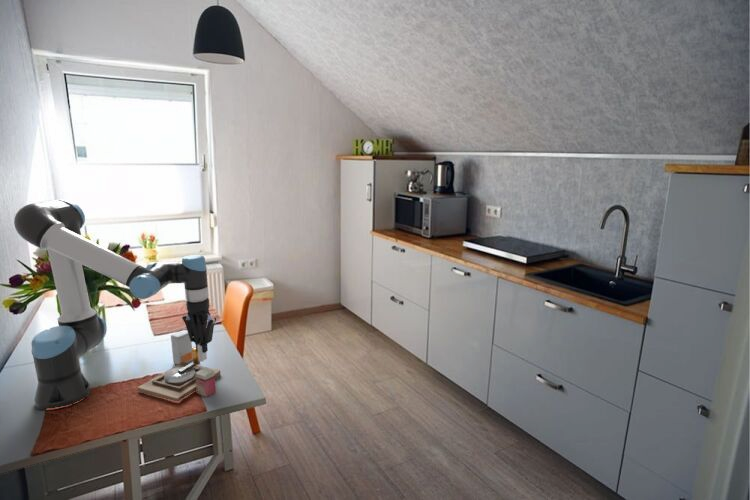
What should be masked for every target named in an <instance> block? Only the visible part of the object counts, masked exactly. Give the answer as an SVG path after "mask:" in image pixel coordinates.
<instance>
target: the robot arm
mask: <svg viewBox="0 0 750 500" xmlns="http://www.w3.org/2000/svg"><path fill="white" fill-rule="evenodd" d="M85 216H86V215H85V213H84V211H83V209H82V208H81V207H80V206H79V205H78V204H77V203H75V202H73V201H71V200H68V199H51V200H46V201H41V202H35V203H29V204H27V205H24V206H23V207H21V208H19V210H18V211H17V212H16V213H15V216H14V221H13V224H14V227H15V231H16V232H17V234H18V235H19V236H20V237H21V238H22V239H23V240H24V241H26V242H28V243H29V244H31V245H33V246H34V247H36V248H39V249H41V250H43V251H47V253H48V258H49V263H50V268H51V271H52V276H53V281H54V286H55V290H56V294H57V299H58V302H59V303H58V304H59V307H60V312H61V315H59V317H58V318H57V323H58V324H57V325H58V326H52V327H50V328H49V329H45V330H42V331H41V332H38V333H37V334H36V335H34V337H33V338H32V340H31V354H32V357H33V358H32V359H33V363H34V368H35V373H36V377H37V386H36V390H35V396H34V405H35V408H36V409H37V410H40V411H44V410H46V409H47V408H55V407H61V406H66V405H70V404H73V403H75V402H77V401H80V400H81V399H83V398H85V397H86V396H87V395H88V394H89V393H90V394H91V387H90V386H91V385H90V383H89V382H88V380H87V379H86V377H85V375H84V374H83V372H82V370H81V369H82V368H81V362H80V358H81V357H83V356H84V355H85V354H86V353H88V352H89V351H90V350H92V349H94V348H96V347H97V346H98V345H99V344H100V343H101V342H102V341H103V340H104V338H105V336H106V334H107V330H108V329H107V323H106V321H105V320H104V318H101V316H100V315H99V314H98V312H97V310H95V309H93V308H92V307H91V303H90V298H89V294H88V289H87V284H86V279H85V274H84V269H83V266H84V267H87V268H89V269H91V270H92V271H95V272H97V273H99V274H101V275H103V276H105V277H107V278H110V280H111V279H112V280H114V281H115V282H118V283H120V284H122V285H124V286H125V287H128V288H129V291H130V294H132V295H133V297H135V298H136V299H140V300H145V299H148V298H151V297H153V296H155V295H156V294H158V293H159V292H160V291H161V290H162V289H164V288H165V287H167V286H168V285H170V284H184V294H185V295H184V296H185V300H186V301H185V305H186V311H187V314H185V315H183V316H182V317H181V319H182V320H183V322H184V323H185V328H186V331H188V335H189V338H190V341H191V342H192V343H194V344H195V347H196V351H197V352H198V359H199V361H200V363H201V362H202V363H203V362H204V361H205V360H207V359H208V354H207V353H208V344H209V343H211V342H212V341H213V336H214V335H213V334H214V330H215V329H214V328H215V323H216V322H217V317H212V316H211V313H210V299H209V289H208V287H209V286H208V274H207V273H208V270H207V269H208V268H207V264H206V258H205V257H204V256H203V255H200V254H190V255H185V256H183V257H182V259H181V261H162V260H160V261H153V262H152V261H151V262H149V263H148V264H147V265H146V267H145V266H142V265H139V264H137V263H136V262H134V261H132V260H130V259H128V258H126V257H124V256H121V255H120V254H118V253H116V252H114V251H112V250H110V249H108V248H105V246H101V245H100V244H97V243H96V242H93V241H92V240H90V239H88V238H85V237H83V236H82V233H81V229H82V228H83V227H84V225H85V222H86V217H85ZM90 394H89V395H90ZM89 395H88V396H89ZM88 396H87V397H88ZM87 397H86V398H87ZM86 398H85V399H86Z"/></svg>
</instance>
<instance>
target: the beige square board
mask: <svg viewBox="0 0 750 500" xmlns="http://www.w3.org/2000/svg"><path fill="white" fill-rule="evenodd" d="M190 363H191V362H187V363H186V362H182V363H180V364H178V365H177V364H175V366H173V367H171V368H169V369H167V370H166V371H164V372H161V373H160V374H159V375H157V376H155V377H153V378H151V379H150V380H148V381H146V382H145V383H142V384H141V385H139V386H137V392H138V391H140V392H143V393H146V394H150V395H154V396H158V397H162V398H166V399H170V400H174V401H179V400H180V399H182V398H184V397H185V396H187V395H189V394H190V393H192V392H194V391H196V390H197V389H196V377H195V378H193V379H191V380H190V381H188V382H187V383H185V384H182V385H176V386H175V385H171V384H167V383H165V379H164V375H165V374H166V373H167V372H168V371H170V370H172V369H175V368H178V367H185V366H187V365H188V364H190ZM192 368H194V369H195V373H196V372H198V371H199V370H201V369H204V368H207V369H210V370H212V371H214V372H215V380H217V379H218V378H220V377H221V376H220V375H221V370H218V369H216V368H215V369H214V368H211V367H207V366H202V365H200V364H199V365H196V366H194V367H192ZM217 377H218V378H217Z"/></svg>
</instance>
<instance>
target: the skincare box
mask: <svg viewBox="0 0 750 500" xmlns="http://www.w3.org/2000/svg"><path fill="white" fill-rule="evenodd" d="M170 341H171V351H172V360H173V364H175V365H178V364H180V363H182V362H186V363H190V362H191V361H192V362H193V356H192V348H193V345H192V344H193V342H191V341H190V338H189V335H188V331H187V329H183V330H181V331H178V332H175V333H172V334H171V335H170Z"/></svg>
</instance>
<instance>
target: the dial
mask: <svg viewBox="0 0 750 500" xmlns="http://www.w3.org/2000/svg"><path fill="white" fill-rule="evenodd" d="M192 356H193V360H192V362H189V363H190V364H188V365H187V366H185V367H178V368H175V369H172V370H170V371H168V372H167V373H166V374H165V375H164V379H165V383H167V384H171V385H175V386H176V385H182V384H185V383H187V382H188V381H190V380H191V379H193V378H195V369H194V368H192V367H194V366H196V365H199V366H200V364H201V362H200V361H199V359H198V352H197V351H196V346H195V347H192Z"/></svg>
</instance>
